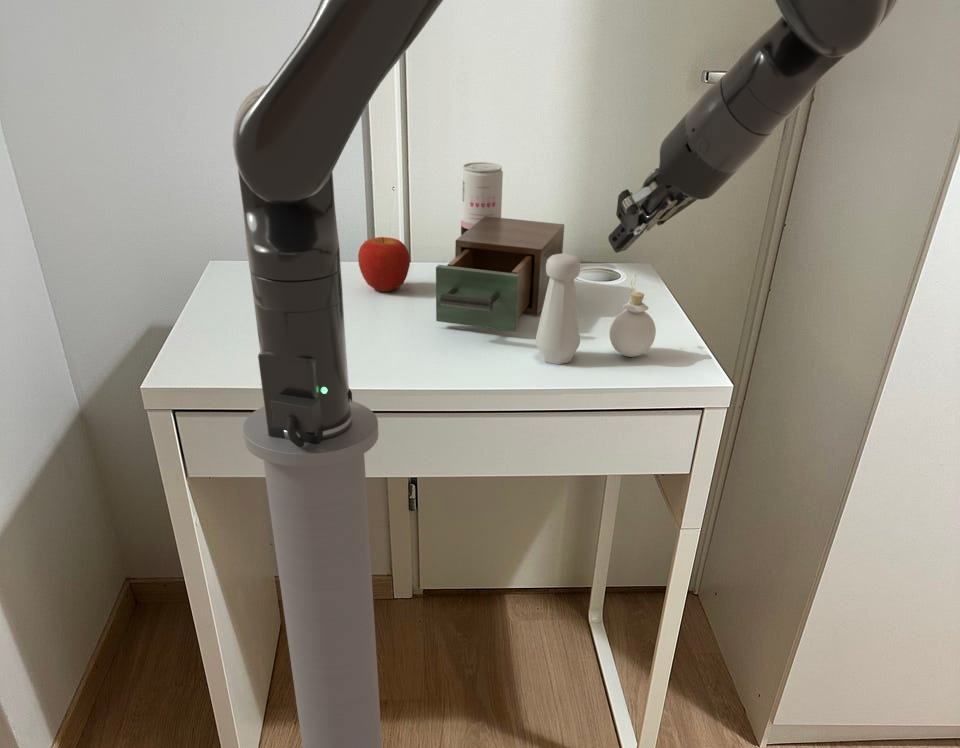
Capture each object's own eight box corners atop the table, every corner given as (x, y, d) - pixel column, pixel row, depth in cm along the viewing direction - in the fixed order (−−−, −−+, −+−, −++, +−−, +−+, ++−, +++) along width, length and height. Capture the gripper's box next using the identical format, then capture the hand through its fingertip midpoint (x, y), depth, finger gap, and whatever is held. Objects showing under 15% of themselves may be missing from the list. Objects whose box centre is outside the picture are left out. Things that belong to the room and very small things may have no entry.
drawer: (505, 343, 122) (507, 287, 118) (424, 332, 125) (423, 277, 120) (539, 301, 136) (542, 249, 132) (465, 292, 139) (466, 241, 134)
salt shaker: (586, 362, 120) (596, 259, 112) (550, 369, 118) (558, 265, 110) (561, 347, 124) (569, 247, 116) (526, 354, 122) (532, 253, 114)
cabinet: (537, 315, 134) (541, 249, 128) (454, 305, 137) (455, 239, 131) (559, 286, 145) (564, 224, 140) (483, 277, 148) (484, 216, 142)
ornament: (612, 364, 120) (621, 286, 114) (601, 343, 126) (609, 268, 120) (657, 363, 120) (668, 285, 114) (643, 343, 126) (654, 268, 120)
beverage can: (462, 258, 156) (463, 161, 147) (500, 259, 156) (504, 162, 147) (458, 269, 151) (459, 169, 142) (498, 271, 151) (501, 171, 142)
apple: (412, 296, 140) (410, 242, 135) (360, 297, 139) (357, 243, 134) (408, 280, 146) (407, 229, 141) (359, 281, 145) (356, 229, 140)
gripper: (738, 96, 94) (637, 206, 109) (655, 112, 87) (559, 227, 102) (773, 160, 94) (667, 261, 109) (693, 180, 87) (592, 285, 102)
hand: (615, 244), depth 105 cm, fingers closed
